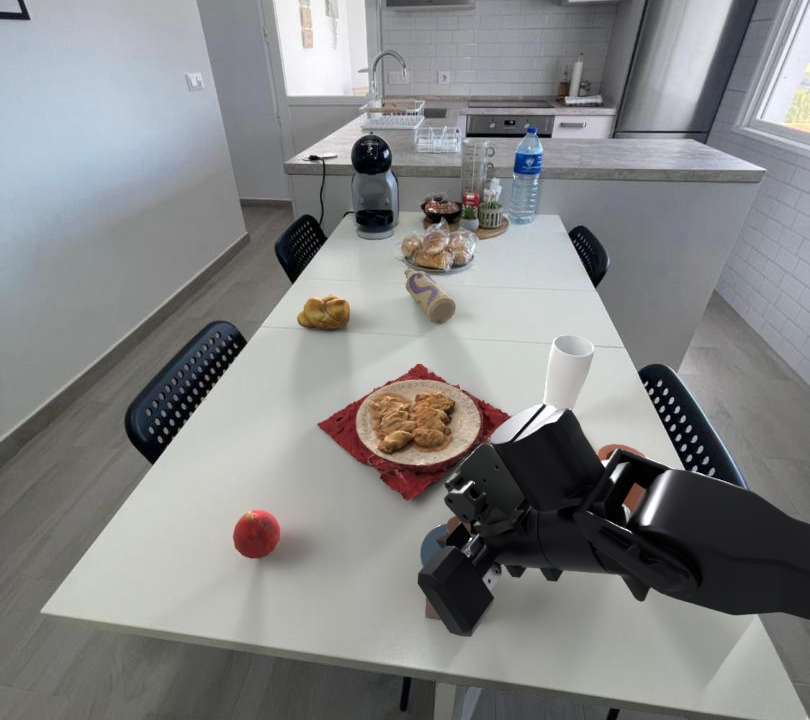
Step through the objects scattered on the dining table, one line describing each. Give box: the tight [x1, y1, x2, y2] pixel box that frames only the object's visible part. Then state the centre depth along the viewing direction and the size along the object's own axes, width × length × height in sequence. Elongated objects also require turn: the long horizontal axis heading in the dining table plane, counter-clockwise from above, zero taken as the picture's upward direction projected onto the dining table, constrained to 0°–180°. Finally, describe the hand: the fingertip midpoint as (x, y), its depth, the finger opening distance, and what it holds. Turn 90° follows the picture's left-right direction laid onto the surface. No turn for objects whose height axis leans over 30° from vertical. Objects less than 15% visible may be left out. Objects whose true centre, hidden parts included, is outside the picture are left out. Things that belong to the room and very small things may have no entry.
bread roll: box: [296, 294, 351, 331], centre depth 106 cm, size 13×10×8 cm
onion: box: [232, 509, 281, 560], centre depth 58 cm, size 6×6×8 cm
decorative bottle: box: [404, 267, 457, 324], centre depth 116 cm, size 26×8×7 cm, turn 18°
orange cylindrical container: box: [596, 443, 646, 514], centre depth 64 cm, size 7×7×8 cm
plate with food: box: [316, 363, 513, 501], centre depth 79 cm, size 24×26×4 cm
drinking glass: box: [542, 334, 596, 413], centre depth 78 cm, size 7×7×15 cm
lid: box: [419, 515, 477, 569], centre depth 49 cm, size 8×8×6 cm
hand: (447, 533), depth 49 cm, fingers closed on lid, 2 cm apart
